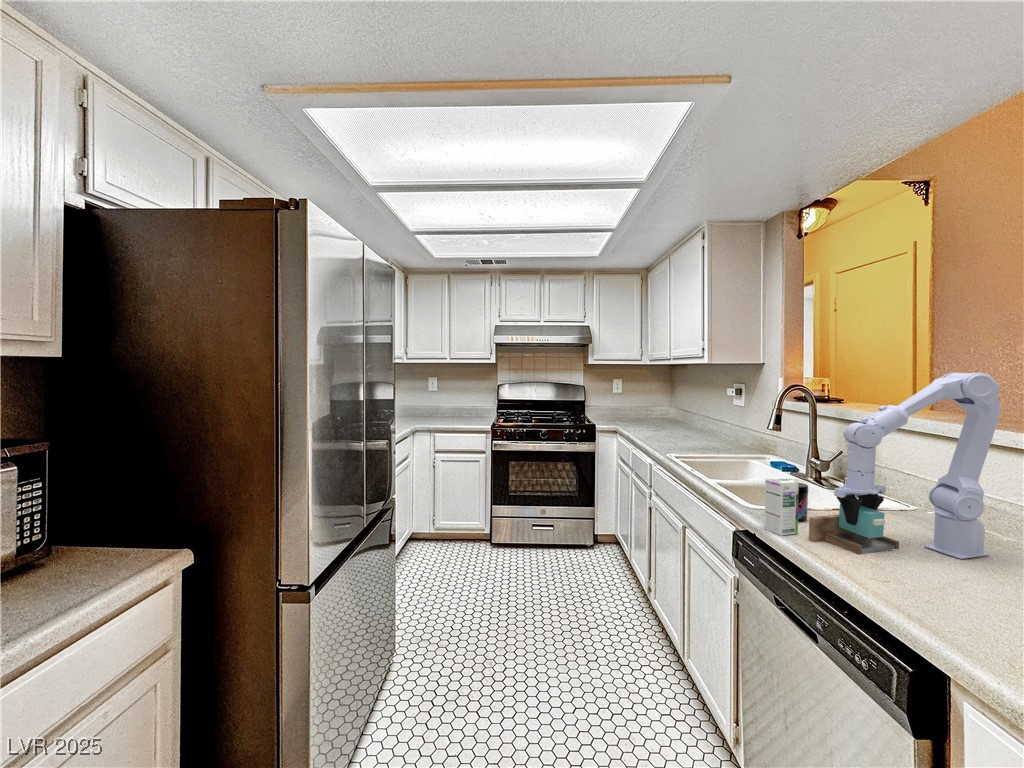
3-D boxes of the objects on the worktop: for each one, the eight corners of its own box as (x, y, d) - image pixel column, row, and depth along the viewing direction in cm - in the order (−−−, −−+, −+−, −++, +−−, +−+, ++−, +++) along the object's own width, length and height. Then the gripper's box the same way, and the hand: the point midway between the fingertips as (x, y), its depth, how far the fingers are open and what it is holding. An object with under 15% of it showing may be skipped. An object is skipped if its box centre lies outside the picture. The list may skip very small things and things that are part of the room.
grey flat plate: (860, 537, 123) (860, 532, 123) (895, 549, 115) (895, 544, 115) (828, 540, 120) (828, 536, 120) (861, 553, 112) (861, 548, 112)
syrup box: (781, 536, 123) (782, 482, 123) (763, 528, 129) (764, 477, 129) (798, 534, 125) (799, 481, 125) (780, 527, 131) (781, 476, 130)
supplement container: (787, 522, 135) (788, 486, 135) (776, 514, 142) (777, 481, 142) (812, 523, 134) (813, 487, 134) (799, 515, 141) (801, 481, 141)
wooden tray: (867, 533, 126) (868, 511, 126) (909, 548, 116) (910, 524, 116) (808, 540, 121) (809, 517, 121) (847, 555, 111) (848, 530, 110)
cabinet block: (851, 525, 122) (853, 503, 122) (886, 537, 114) (887, 513, 113) (838, 526, 121) (839, 504, 121) (872, 539, 113) (874, 515, 112)
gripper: (854, 475, 112) (852, 530, 112) (898, 472, 116) (896, 526, 116) (827, 469, 119) (825, 521, 119) (870, 466, 122) (868, 517, 123)
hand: (859, 523), depth 118 cm, fingers closed on cabinet block, 4 cm apart
